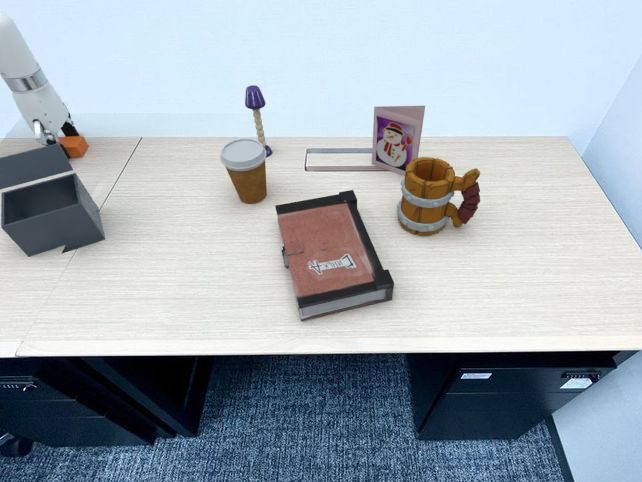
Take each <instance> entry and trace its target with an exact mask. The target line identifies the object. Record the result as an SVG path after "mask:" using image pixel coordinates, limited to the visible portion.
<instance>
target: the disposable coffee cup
mask: <svg viewBox="0 0 642 482" xmlns="http://www.w3.org/2000/svg"><path fill="white" fill-rule="evenodd" d="M266 155H267V154H266V150H265V148H264V147H263V145H262V144H261V143H260V142H259V141H258V139H254V138H249V137H243V138H236V139H233V140H231V141H228V142H227V143H225V144H224V145H223V146H222V147H221V150H220V156H219V159H220V162H221V164H222V165H223V167H225V169H226V172H227V174H228V176H229V178H230V180H231V183H232V185H233V187H234V189H235V191H236V194H237V196H238V198H239V200H240V202H242V203H244V204H246V205H254V204H255V205H256V204H258V203H261V202H263V201H264V200H265V199H266V198H267V195H268V189H267V187H268V186H267V170H266V158H267V157H266Z"/></svg>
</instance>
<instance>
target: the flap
mask: <svg viewBox="0 0 642 482" xmlns="http://www.w3.org/2000/svg"><path fill="white" fill-rule="evenodd" d="M72 171H74V168H73V166H72V164H71V162H70V161H69V159H67V157H66V155H65V154H64V152H63V150H62V148H61V146H60V145H59V143H58V144H54V145H50V146H42V147H38V148H34V149H30V150H25V151H21V152H17V153H14V154H10V155H5V156H1V157H0V190H4V189H7V188H12V187H15V186H19V185H23V184H26V183H30V182H34V181H38V180H42V179H45V178H49V177H54V176H57V175H61V174H64V173H67V172H72Z"/></svg>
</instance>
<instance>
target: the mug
mask: <svg viewBox="0 0 642 482" xmlns="http://www.w3.org/2000/svg"><path fill="white" fill-rule="evenodd" d="M480 175H481V171H480V170H479V169H478V168H476V167H475V168H472V169H469V170H468V171H467V172H465V173H464V174H463V176H458V175H456V172H455V170H454V167H453V166H452V165H450V163H448V161H446V160H444V159H441V158H437V157H436V158H435V157H430V156H429V157H427V156H422V157H418V158H416V159H414V160H413V161H410V162H409V163H408V164H407V166H406V170H405V176H403V179H401V181H400V186H401V188H400V190H401V194H402V195H401V199H400V200H399V202H398V203H397V204H396V209H397V211H396V213H397V215H396V216H397V221H398V224H399V225H400V227H401V228H402V229H404V230H405V231H406V232H409V234H413V235H418V236H422V237H423V236H425V237H429V236H433V235H436V234H438V233H440V232H441V231H443V229H444V228H445V226H446V224H447V222H448V220H450V219H451V222H452V226H453V227H455V228H461V227H462V226H463V225H467V223H468V222H469V221H470V220H471V219H472V218H473V217H474V215H475V213H476V212H477V211H478V209H479V204H480V203H481V195H480V192H481V189H480V185H479V182H478V181H477V180H478V179H479V177H480ZM455 192H460V194H461V196H462V199H463V200H462V201H461V203H460V205H459V207H457V206H456V205H455V203H453V202H450V201H451V199H452V198H454V196H455Z"/></svg>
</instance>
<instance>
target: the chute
mask: <svg viewBox="0 0 642 482" xmlns="http://www.w3.org/2000/svg"><path fill="white" fill-rule="evenodd" d="M0 195H1V202H0V203H1V205H0V207H1V208H0V210H1V211H0V216H1V217H0V228H1V229H2V230H3V231H4V232H5V234H7V235H8V236H9V237H10V239H11V240H12V241H13V242H14V243H15V244H16V246H17V247H19V248H20V249H21V251H22V252H23V253H24V254H25V255H26V256H27V257H28V258H29V257H33V256H36V255H39V254H42V253H45V252H49V251H51V250H54V249H55V250H56V249H58V248H61V247H63V249H62V251H61V254H62V255H63V254H65V253H67V252H71V251H73V250H77V249H80V248H83V247H86V246H89V245H93V244H96V243H99V242H101V241H104V240H106V237H105V236H106V235H105V232H104V228H103V222H102V219H101V214H100V209H99V207H98V205H97V204H96V202H95V201H94V199H93V197H91V194H90V193H89V191H88V190H87V188H86V186H85V185H84V183H83V182H82V180H81V179H80V177H79V176H78V174H77V173H76V172H74V173H70V174H66V175H62V176H58V177H54V178H51V179H47V180H44V181H40V182H36V183H32V184H28V185H25V186H21V187H18V188H14V189H9V190H5V191H3V192H1V193H0Z"/></svg>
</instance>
